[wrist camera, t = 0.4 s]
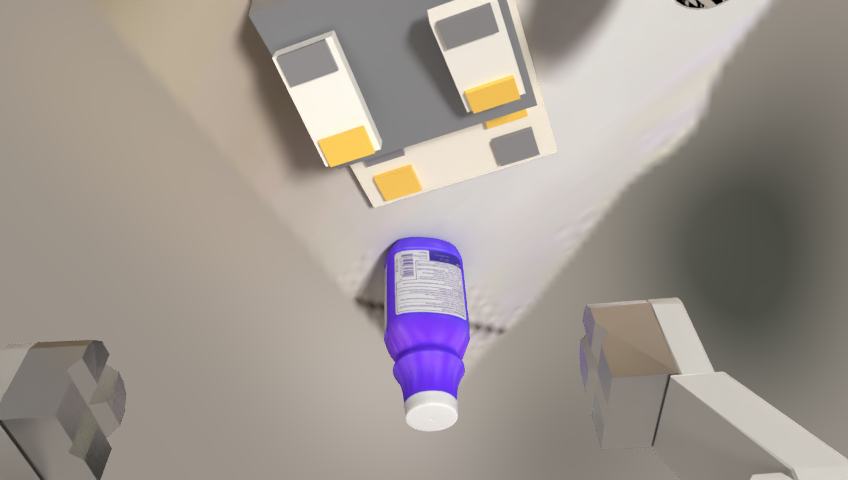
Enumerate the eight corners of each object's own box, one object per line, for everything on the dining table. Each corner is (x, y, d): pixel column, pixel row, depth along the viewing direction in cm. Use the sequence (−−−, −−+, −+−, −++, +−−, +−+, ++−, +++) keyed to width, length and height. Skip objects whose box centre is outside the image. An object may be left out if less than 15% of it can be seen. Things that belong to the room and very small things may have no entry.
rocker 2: (427, 10, 41) (430, 27, 40) (493, -14, 40) (498, 3, 39) (464, 99, 47) (468, 115, 46) (522, 80, 46) (526, 96, 46)
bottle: (379, 271, 67) (381, 436, 55) (387, 229, 63) (390, 397, 51) (453, 276, 68) (471, 439, 56) (466, 235, 64) (488, 401, 52)
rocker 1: (275, 51, 44) (270, 59, 43) (333, 30, 43) (330, 37, 42) (328, 158, 48) (325, 169, 47) (382, 141, 47) (380, 151, 46)
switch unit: (243, -33, 46) (230, 10, 41) (479, -127, 42) (490, -90, 38) (374, 200, 61) (374, 248, 56) (555, 144, 57) (569, 191, 53)
